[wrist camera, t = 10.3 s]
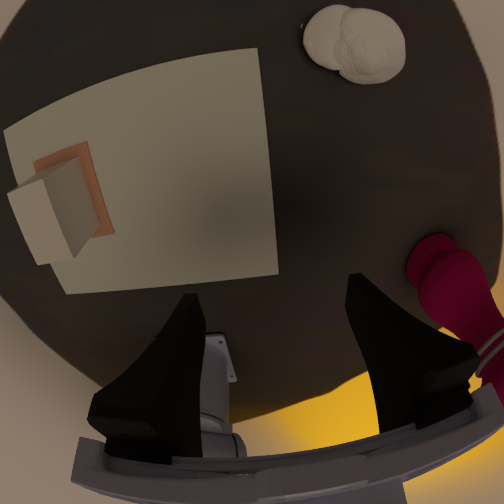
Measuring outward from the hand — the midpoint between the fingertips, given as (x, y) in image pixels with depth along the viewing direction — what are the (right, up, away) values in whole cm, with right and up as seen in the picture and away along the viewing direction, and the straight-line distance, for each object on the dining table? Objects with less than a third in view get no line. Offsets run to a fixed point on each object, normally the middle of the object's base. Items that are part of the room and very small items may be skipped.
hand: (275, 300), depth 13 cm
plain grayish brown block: (-16, +7, +6) cm, 18 cm away
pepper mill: (+17, +2, +12) cm, 21 cm away
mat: (-11, +7, +7) cm, 14 cm away
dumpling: (+5, +16, +2) cm, 17 cm away
